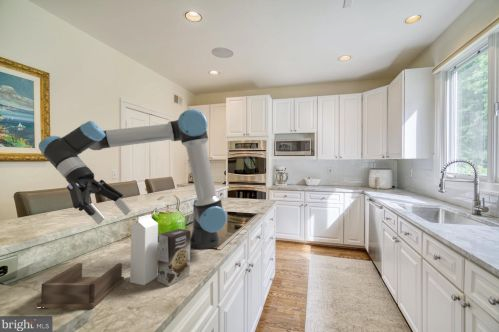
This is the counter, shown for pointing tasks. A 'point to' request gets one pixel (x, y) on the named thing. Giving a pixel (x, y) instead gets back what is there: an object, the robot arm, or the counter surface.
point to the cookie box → (173, 256)
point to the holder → (79, 288)
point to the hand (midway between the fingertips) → (116, 216)
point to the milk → (144, 250)
